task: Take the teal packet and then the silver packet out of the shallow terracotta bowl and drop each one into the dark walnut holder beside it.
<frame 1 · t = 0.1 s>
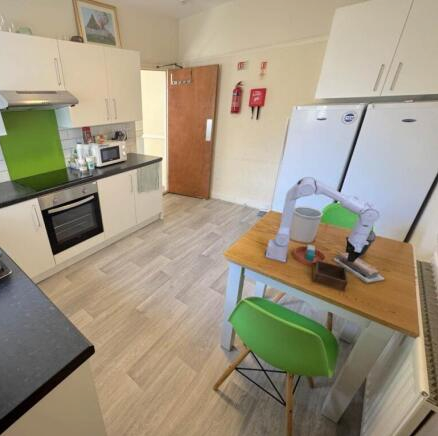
hand: (349, 257, 110), 10 cm above the table, tool pointing down, fingers open, 7 cm apart
teal packet: (308, 260, 123), resting on bowl
utensil holder: (299, 237, 144), on the table
bowl: (308, 258, 126), on the table
packaged product: (355, 270, 117), on the table
beverage cup: (357, 255, 127), on the table
holder: (327, 279, 111), on the table
silver packet: (308, 255, 127), resting on bowl
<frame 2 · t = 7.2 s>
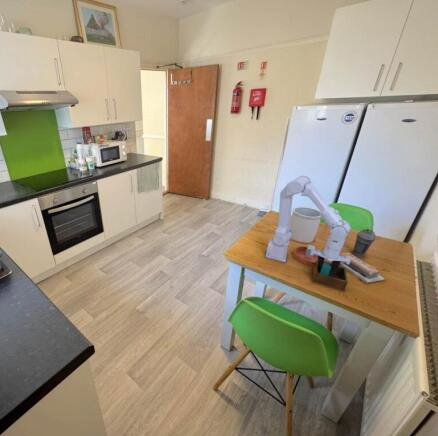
hand: (324, 270, 112), 3 cm above the table, tool pointing down, fingers closed on teal packet, 3 cm apart
teal packet: (323, 272, 113), point 2 cm above the table, touching gripper
everything else where it was.
when the fingers open (4 cm above the table, at t = 13.4 s): teal packet drops 3 cm, resting on holder.
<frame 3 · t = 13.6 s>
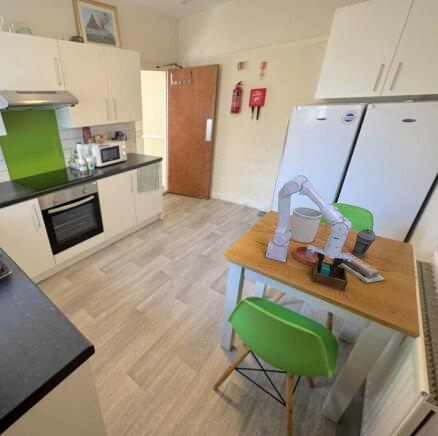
hand: (325, 268, 112), 4 cm above the table, tool pointing down, fingers open, 4 cm apart
teal packet: (322, 274, 114), resting on holder
everything else where it was.
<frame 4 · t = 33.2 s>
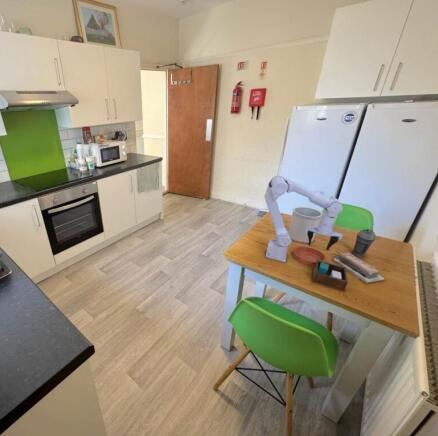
hand: (318, 246, 119), 9 cm above the table, tool pointing down, fingers open, 7 cm apart
silver packet: (333, 282, 109), resting on holder
everything else where it was.
at the end: teal packet inside the target area in the holder (3.5 cm from its centre), point 0.5 cm above the holder's base; silver packet inside the target area in the holder (2.8 cm from its centre), point 0.5 cm above the holder's base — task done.
